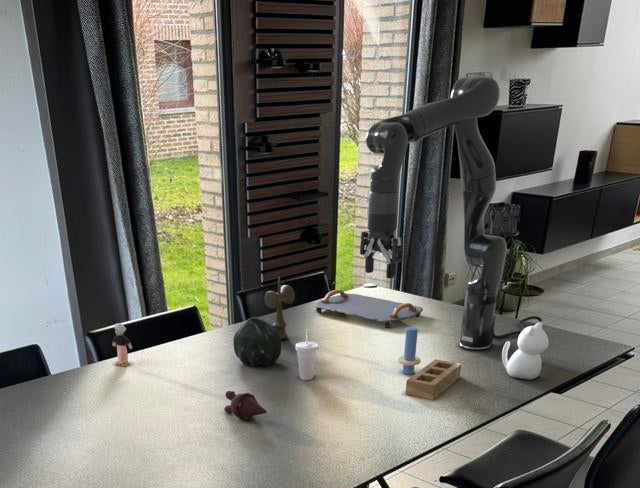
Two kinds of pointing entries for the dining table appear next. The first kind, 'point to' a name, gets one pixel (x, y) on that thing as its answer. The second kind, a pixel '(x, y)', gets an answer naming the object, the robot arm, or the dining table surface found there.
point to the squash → (257, 342)
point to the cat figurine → (526, 353)
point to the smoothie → (306, 358)
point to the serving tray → (368, 307)
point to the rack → (433, 379)
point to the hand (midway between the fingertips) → (379, 275)
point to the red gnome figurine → (243, 405)
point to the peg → (410, 351)
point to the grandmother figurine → (121, 345)
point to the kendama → (280, 305)
